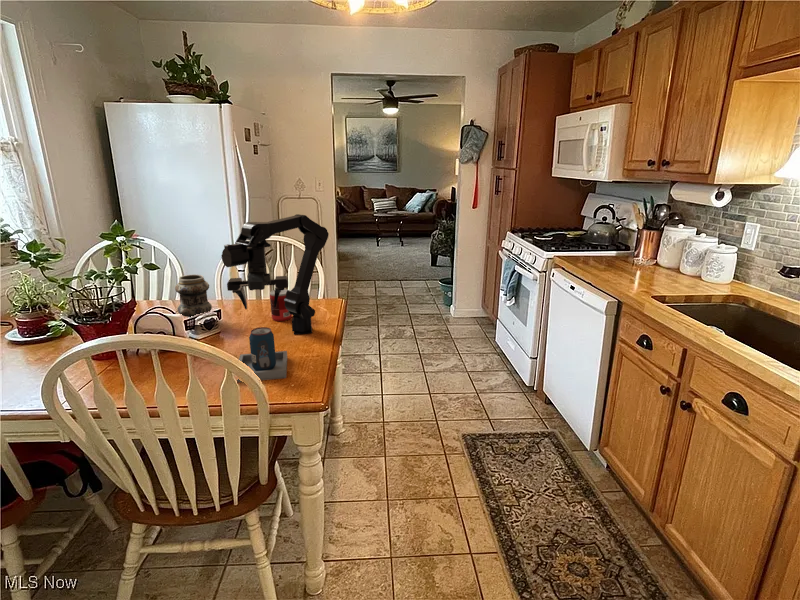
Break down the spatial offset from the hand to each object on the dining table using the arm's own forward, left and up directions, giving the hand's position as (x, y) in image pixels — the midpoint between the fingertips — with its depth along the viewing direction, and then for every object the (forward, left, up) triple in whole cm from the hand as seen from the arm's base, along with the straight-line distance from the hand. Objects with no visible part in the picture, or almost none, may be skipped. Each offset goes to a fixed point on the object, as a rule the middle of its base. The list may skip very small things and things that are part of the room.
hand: (260, 308), depth 150 cm
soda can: (-2, +20, -13) cm, 24 cm away
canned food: (-5, -26, -13) cm, 30 cm away
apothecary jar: (+27, -28, -13) cm, 41 cm away
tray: (-1, +20, -13) cm, 24 cm away
